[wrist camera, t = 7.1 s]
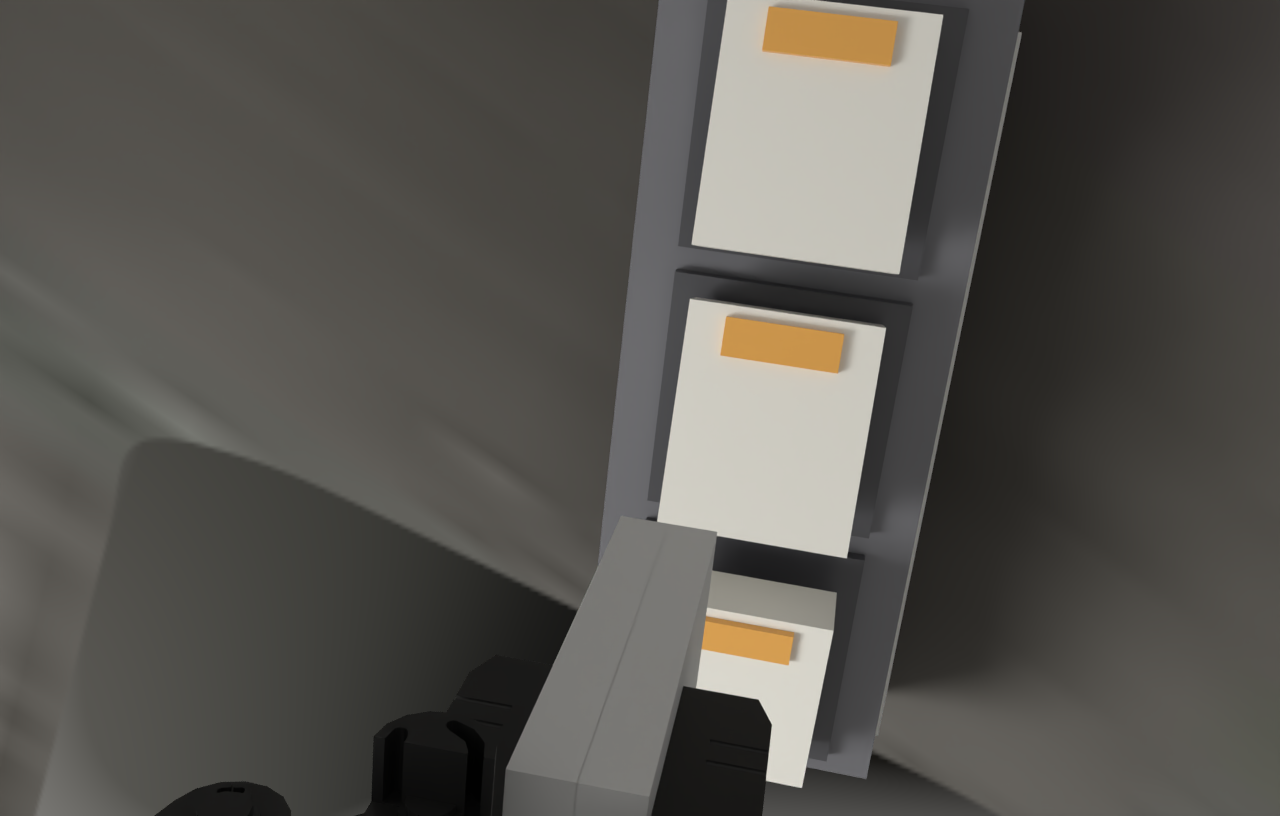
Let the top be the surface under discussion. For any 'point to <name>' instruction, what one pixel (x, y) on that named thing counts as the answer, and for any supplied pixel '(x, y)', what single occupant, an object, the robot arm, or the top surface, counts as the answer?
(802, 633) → the rocker
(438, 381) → the top surface
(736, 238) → the rocker
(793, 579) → the power strip
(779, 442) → the rocker
